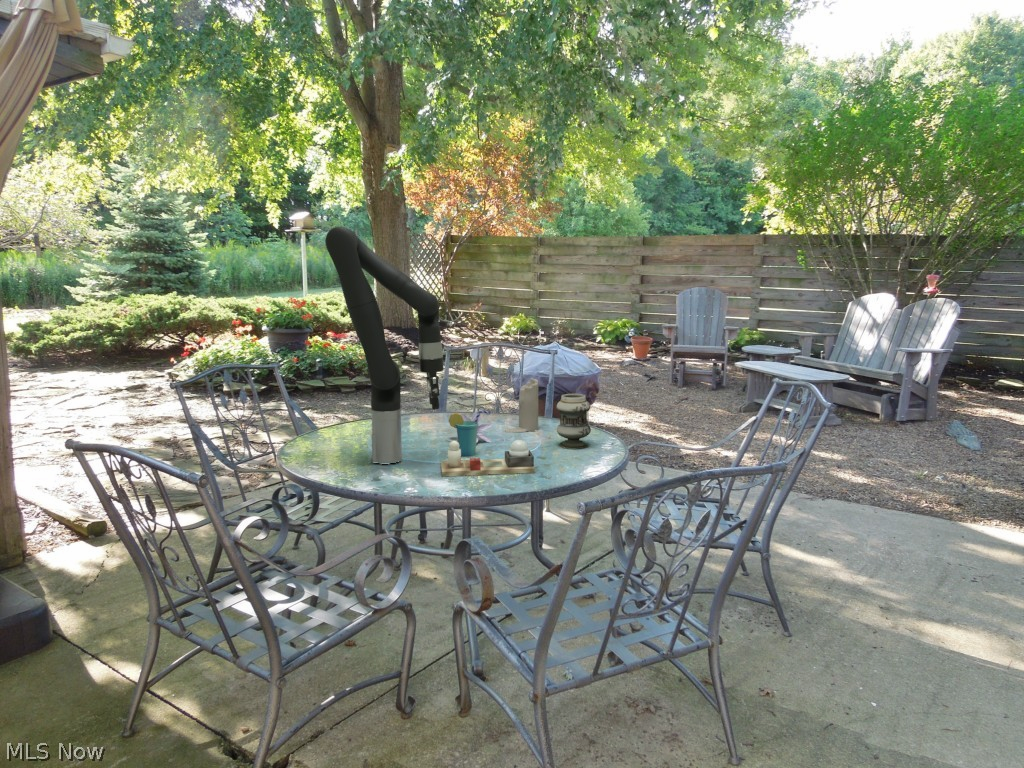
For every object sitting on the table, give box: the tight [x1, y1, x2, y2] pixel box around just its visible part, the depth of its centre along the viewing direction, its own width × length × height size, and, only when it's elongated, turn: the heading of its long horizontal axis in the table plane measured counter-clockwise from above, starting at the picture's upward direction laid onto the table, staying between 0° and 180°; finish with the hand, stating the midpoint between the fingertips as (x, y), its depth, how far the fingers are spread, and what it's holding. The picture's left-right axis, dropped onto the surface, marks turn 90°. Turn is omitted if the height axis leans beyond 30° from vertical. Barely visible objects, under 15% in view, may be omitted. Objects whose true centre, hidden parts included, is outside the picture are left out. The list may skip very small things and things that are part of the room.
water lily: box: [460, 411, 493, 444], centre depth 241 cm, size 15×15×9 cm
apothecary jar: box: [556, 393, 592, 450], centre depth 233 cm, size 12×12×18 cm
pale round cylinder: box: [508, 439, 530, 457], centre depth 206 cm, size 6×6×6 cm
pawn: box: [447, 440, 462, 467], centre depth 203 cm, size 4×4×8 cm
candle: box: [502, 377, 540, 433], centre depth 256 cm, size 7×14×20 cm, turn 107°
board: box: [440, 449, 536, 477], centre depth 205 cm, size 28×12×5 cm, turn 97°
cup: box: [448, 409, 491, 457], centre depth 222 cm, size 14×8×15 cm, turn 99°
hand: (434, 406), depth 213 cm, fingers open, 8 cm apart
